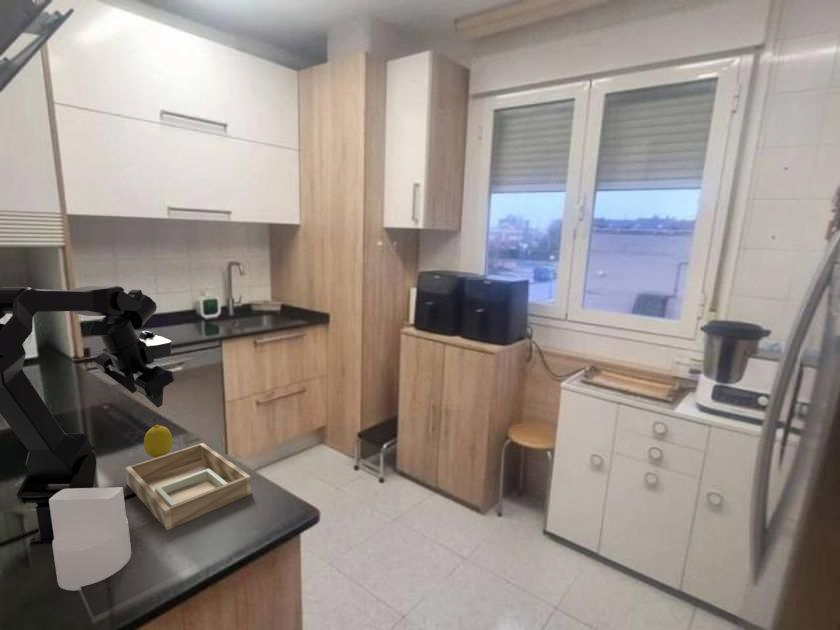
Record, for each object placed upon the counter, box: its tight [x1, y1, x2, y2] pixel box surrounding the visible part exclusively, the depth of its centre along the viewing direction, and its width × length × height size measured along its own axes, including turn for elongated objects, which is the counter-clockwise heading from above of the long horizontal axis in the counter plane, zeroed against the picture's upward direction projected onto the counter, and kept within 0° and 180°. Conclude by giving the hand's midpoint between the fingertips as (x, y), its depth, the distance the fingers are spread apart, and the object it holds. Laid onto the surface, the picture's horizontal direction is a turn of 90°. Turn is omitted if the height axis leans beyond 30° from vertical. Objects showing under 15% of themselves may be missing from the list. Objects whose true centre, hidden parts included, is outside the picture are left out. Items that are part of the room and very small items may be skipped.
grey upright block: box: [49, 486, 132, 591], centre depth 65 cm, size 9×9×12 cm
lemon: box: [143, 424, 173, 458], centre depth 99 cm, size 6×6×8 cm
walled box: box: [124, 442, 253, 531], centre depth 86 cm, size 22×15×4 cm
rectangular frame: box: [155, 468, 227, 507], centre depth 85 cm, size 10×10×2 cm
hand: (146, 398), depth 98 cm, fingers open, 9 cm apart
